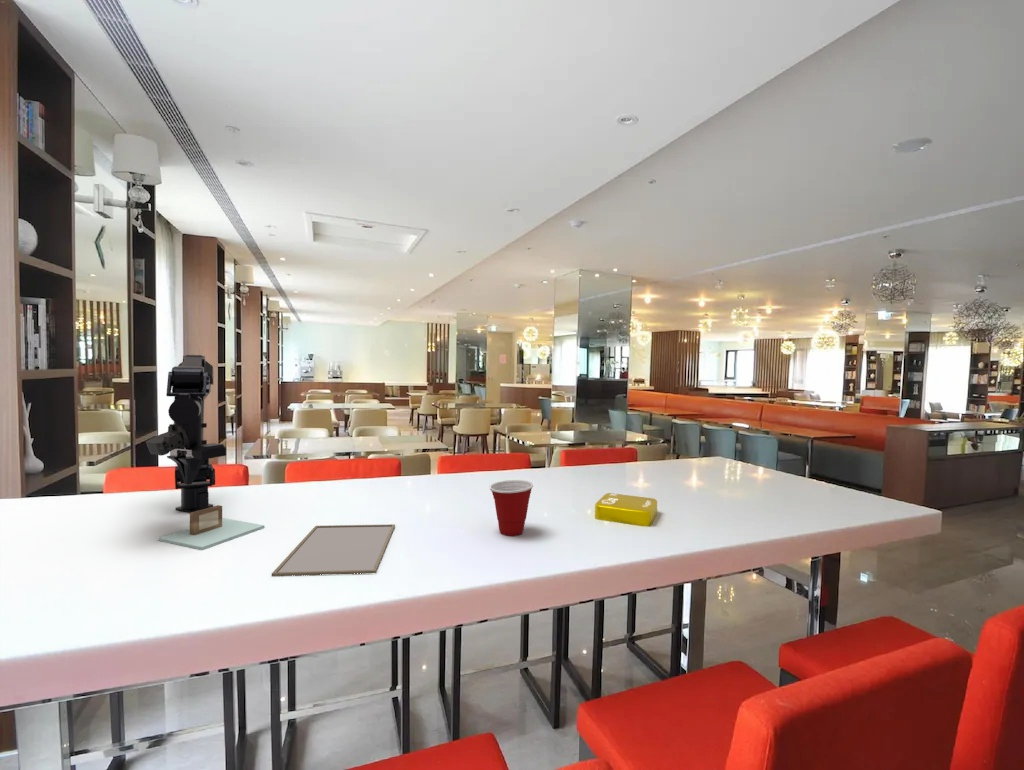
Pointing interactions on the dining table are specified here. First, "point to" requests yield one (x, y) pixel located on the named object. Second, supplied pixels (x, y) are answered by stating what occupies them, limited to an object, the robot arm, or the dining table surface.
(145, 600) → the dining table surface
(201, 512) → the brown wooden block
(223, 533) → the mat
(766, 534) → the dining table surface
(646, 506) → the element tile
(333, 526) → the picture frame
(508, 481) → the plastic cup
